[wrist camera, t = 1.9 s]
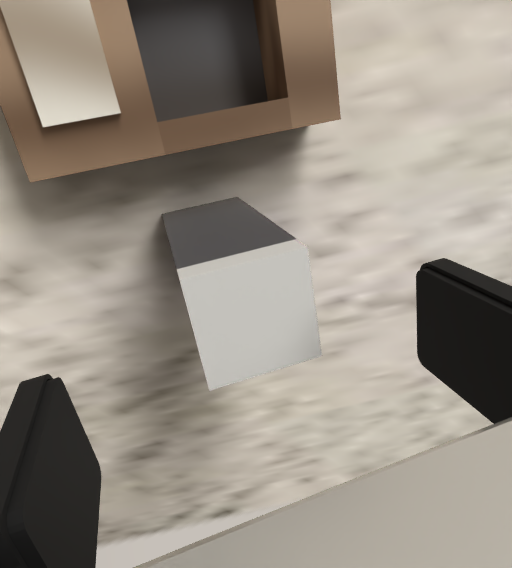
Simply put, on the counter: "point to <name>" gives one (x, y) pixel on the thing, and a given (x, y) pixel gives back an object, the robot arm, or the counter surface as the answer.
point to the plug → (243, 290)
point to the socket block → (158, 76)
